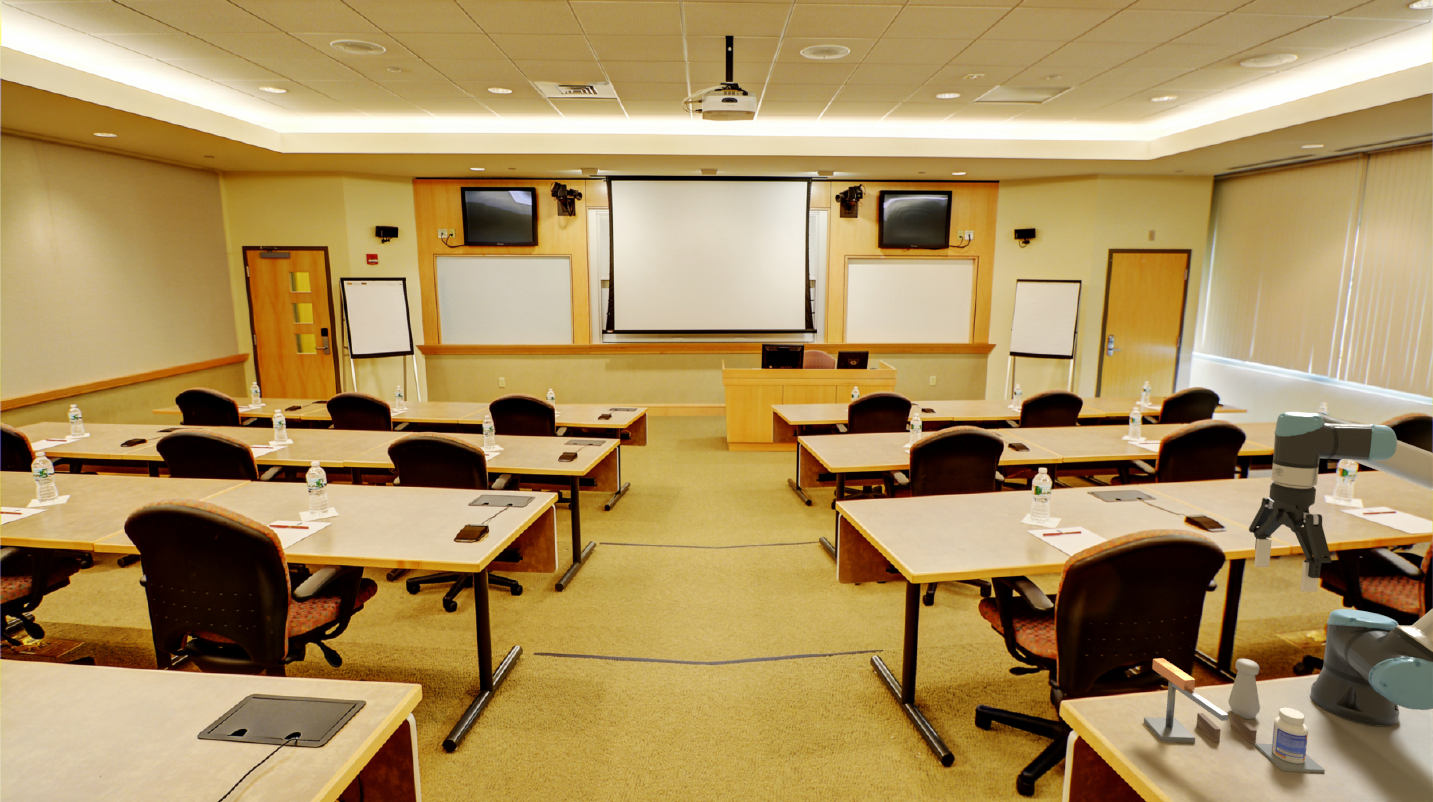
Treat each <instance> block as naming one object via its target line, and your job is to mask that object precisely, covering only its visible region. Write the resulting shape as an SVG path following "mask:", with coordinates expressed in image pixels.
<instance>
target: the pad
mask: <svg viewBox="0 0 1433 802" xmlns="http://www.w3.org/2000/svg"><path fill="white" fill-rule="evenodd" d="M1254 746H1255V748H1257V750H1258V751H1260V752H1261V753H1262V754H1263V755H1264V756H1266V758H1267V759H1268V760H1270V761H1271V762H1272V763H1273V764H1274V765H1275V766H1276V767H1277V768H1278V769H1280V771H1282V772H1294V773H1295V772H1296V773H1297V772H1301V773H1324V774H1325V772H1326V769H1325V768H1323V766H1322V765H1320V764H1319V763H1318V762H1316V761H1315V760H1313V758H1311V757H1310V756H1309V755H1308V754H1306V758H1305V761H1304V762H1303V763H1300V764H1296V763H1291V762H1287V761H1285V760H1282V759H1280V758H1278V757H1277V756H1276V755H1275V754H1274V753H1273V752H1272V743H1254Z"/></svg>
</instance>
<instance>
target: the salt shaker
mask: <svg viewBox="0 0 1433 802" xmlns="http://www.w3.org/2000/svg"><path fill="white" fill-rule="evenodd" d="M1235 669H1236V670H1237V673H1236V677H1235V679H1234V683H1233V685H1232V688H1231V691H1230V693H1229V694H1230V695H1229V698H1228V701H1227V702H1228V706H1229V707H1230V710H1231V712H1232V714H1238V715H1239V716H1241V717H1242V718H1243V719H1244V720H1251V719H1255V718H1256V717H1257V716H1258V714H1259V712H1260V709H1261V705H1260V699H1259V693H1258V687H1257V681H1256V679H1257V678H1256V676H1257V675H1258V674H1259V673H1260V666H1259V664H1258V663H1257V662H1255V661H1254V660H1252V659H1248V658H1238V659H1237V660H1236V662H1235Z"/></svg>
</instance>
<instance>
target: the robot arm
mask: <svg viewBox="0 0 1433 802" xmlns="http://www.w3.org/2000/svg"><path fill="white" fill-rule="evenodd" d="M1276 420H1277V421H1276V424H1275V429H1274V441H1273V443H1274V446H1273V459H1272V470H1271V479H1270V480H1272V481H1273V482H1271V483H1270V484H1269V485H1270V486H1269V497H1263V498H1261V505H1260V507H1259V509H1258V511H1257V512H1256V514H1255V516H1254V518H1253V521H1252V522H1251V523H1250V525H1249V527H1248V531H1249V533H1253V535H1254V537H1255V543H1254V544H1255V546H1254V548H1255V554H1254V556H1255V557H1254V565H1253V566H1254V567H1256V568H1270V560H1271V550H1272V540H1273V538H1272V537H1273V536H1272V534H1274V533H1275V532H1276V531H1277V530H1278V529H1279V528H1280V527H1281V526H1282V525H1283V526H1285V527H1287V528H1289V529H1290V531H1291V532H1293V533H1294V534H1295V536H1296V538H1297V541H1298V543H1299V545H1300V548H1301V549H1302V552H1303V554H1304V556H1305V559H1304V560H1302V568H1301V579H1300V588H1299V590H1300V592H1306V593H1307V592H1308V593H1309V592H1311V593H1312V592H1313V593H1317V591H1318V584H1319V579H1320V576H1321V569H1322V564H1331V563H1332V557H1331V554H1330V549H1329V546H1328V541H1327V539H1326V535H1325V531H1324V528H1323V516H1322V514H1317V513H1314V514H1313V513H1311V512H1310V506H1313V505H1314V504H1315V503H1316V496H1317V495H1316V493H1317V489H1316V487H1315V486H1317V485H1318V478H1319V477H1318V476H1319V468H1320V467H1319V466H1320V459H1325V460H1328V459H1334V460H1350V461H1352V462H1356V463H1357V464H1361V465H1363V466H1366V467H1369V468H1372V469H1374V470H1376V471H1379V472H1381V473H1385V474H1387V475H1389V476H1393V477H1395V478H1398V479H1400V480H1403V481H1405V482H1408V483H1411V484H1414V485H1416V486H1419V487H1422V488H1425V489H1427V490H1429V491H1432V492H1433V452H1431V451H1428V450H1425V449H1422V448H1420V447H1417V446H1415V445H1412V444H1408V443H1407V442H1403V441H1402V440H1398V438H1397V435H1396V433H1395V431H1394V429H1392V427H1390V426H1388V425H1385V424H1374V423H1370V424H1368V423H1365V424H1364V423H1357V422H1354V421H1349V420H1346V419H1342V418H1338V417H1335V416H1332V415H1328V414H1325V413H1323V412H1319V413H1318V412H1302V411H1285V412H1282V413H1280V414H1279V415H1278V416H1277V419H1276ZM1326 626H1327V627H1326V636H1325V637H1326V639H1325V648H1324V657H1323V666H1322V669H1321V670H1320V672H1319V674H1318V676H1317V678H1316V680H1315V681H1314V682H1313V683H1312V685H1310V699H1311V700H1312V701H1313V703H1315V704H1316V705H1317V706H1319V708H1321V709H1322V710H1325V711H1327V712H1329V713H1330V714H1332V715H1335V716H1337V717H1340V718H1343V719H1345V720H1348V721H1352V722H1355V723H1359V724H1361V725H1362V724H1364V725H1368V726H1376V727H1390V726H1391V727H1392V726H1394V725H1396V724H1398V723H1399V720H1400V719H1399V718H1400V708H1399V707H1402V708H1405V709H1408V710H1420V711H1429V710H1433V608H1431V609H1430V610H1429V611H1428V612H1427V613H1425V614H1424V615H1423V616H1422V617H1420V618H1419V619H1418V620H1417V621H1416V622H1414V623H1413V624H1412V625H1399V623H1398V621H1396V620H1395V619H1393V618H1390V617H1388V616H1385V615H1382V614H1380V613H1374V612H1369V611H1364V610H1358V609H1349V608H1348V609H1347V608H1343V609H1342V608H1339V609H1334V610H1332V611H1330V613H1329V615H1328V619H1327V622H1326Z"/></svg>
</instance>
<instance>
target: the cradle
mask: <svg viewBox="0 0 1433 802" xmlns="http://www.w3.org/2000/svg"><path fill="white" fill-rule="evenodd" d="M1230 721H1231V722H1230V727H1231V728H1232V729H1233V730H1235V731H1236V732H1237V733H1238V734H1239V736H1241V737H1242V738H1243V739H1244V740H1245V741H1247V742H1248V743H1249V744H1257V743H1256V742H1257V729H1256V728H1255V727H1253V726H1252V725H1251V724H1250V723H1249V722H1248V721H1246V719H1245V718H1242V717H1241V716H1239V715H1238V714H1234V713H1231V720H1230ZM1196 727H1198V728H1199V729H1200V730H1201V732H1203V733H1204V734H1205V736H1207V737H1208V738H1209V739H1210V740H1211V741H1212V742H1213V743H1220V741H1221V740H1220V739H1221V731H1222V730H1221V728H1220V727H1219V726H1218V725H1217V724H1215V722H1213V720H1211V719H1210V718H1209V717H1208V716H1207V715H1206V714H1205V713H1203V712H1197V715H1196Z"/></svg>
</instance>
